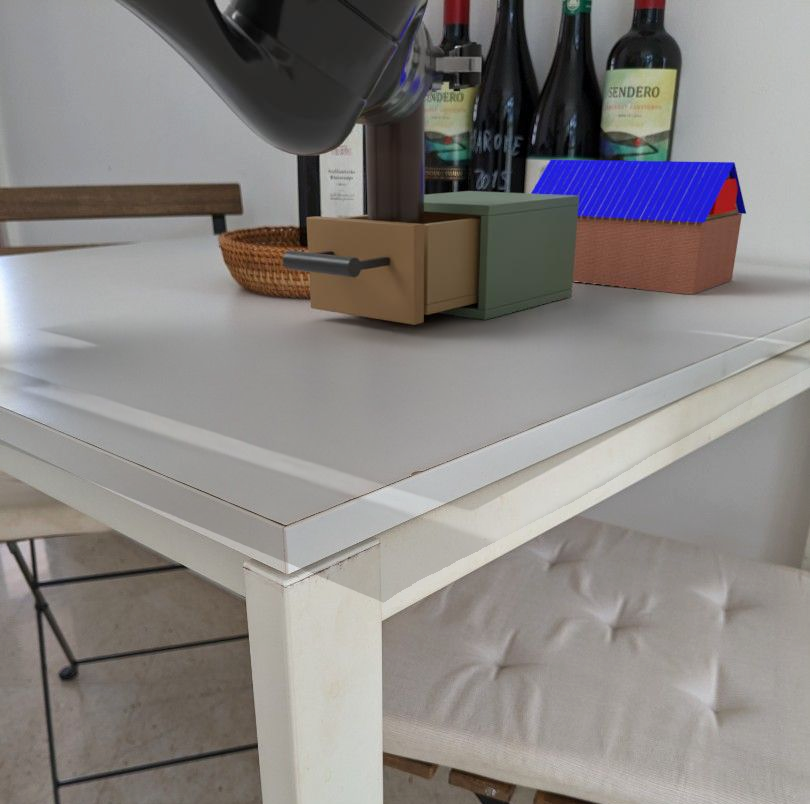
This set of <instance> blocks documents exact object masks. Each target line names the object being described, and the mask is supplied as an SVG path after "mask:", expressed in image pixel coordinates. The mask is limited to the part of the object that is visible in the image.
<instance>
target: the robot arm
mask: <svg viewBox="0 0 810 804" xmlns="http://www.w3.org/2000/svg"><path fill="white" fill-rule="evenodd" d="M114 1H115V2H116V3H118V4H119V5H120V6H122V7H123V8H125V9H126V10H127V11H129V12H130V13H131V14H133V16H135V17H136V18H137V19H138V20H140V21H141V22H143V23H144V24H145V25H146V26H147V27H148V28H150V29H151V30H152V31H153V33H155V34H156V35H157V36H159V38H160V39H162V40H163V41H164V42H165V43H166V44H167V45H168V46H169V47H171V48H172V49H173V51H175V52H176V53H177V54H178V55H179V56H180V57H181V59H183V60H184V61H185V62H186V63H187V64H188V66H190V67H191V68H192V69H193V70H194V71H195V73H197V74H198V76H200V78H202V80H203V81H204V82H205V84H207V85H208V87H209V88H210V89H211V90H212V91H213V93H215V94H216V95H217V96H218V98H220V100H221V101H222V102H223V103H224V104H225V105H226V106H227V107H228V109H229V110H230V111H231V112H232V113H233V114H234V115H235V116H236V117H238V119H239V120H240V121H241V122H242V123H243V124H244V125H245V126H246V127H247V128H248V129H249V130H250V131H251V132H253V133H254V134H255V135H256V136H257V137H258V138H260V139H261V140H262V141H264V142H265V143H266V144H268V145H269V146H271V147H273V148H275V149H277V150H279V151H281V152H284V153H286V154H290V155H294V156H301V157H313V156H314V157H315V156H320V155H324V154H328V153H331V152H332V151H335V150H336V149H337V148H339V147H341V145H342V144H343V143H345V141H346V140H347V139H348V137H349V136H350V135H351V133H352V131H353V130H354V128H355V126H356V125H363V126H365V125H370V126H386V125H390V124H394V123H397V122H399V121H401V120H403V119H405V118H406V117H408V116H409V115H410V114H411V113H413V112H414V111H415V110H416V109H417V108H418V106H419V105H420V104H421V103H422V101H423V100H424V101H425V98H426V97H430V96H432V94H433V93H437V92H438V91H441V90H442V88H443V87H442V86H444V85H445V84H444V83H448V90H453V92H461V90H466V89H472V88H476V87H479V86H481V84H482V58H483V57H482V56H483V55H482V52H483V49H482V48H483V45H482V44H481V43H478V42H477V41H469V43H467V44H466V43H465V44H463V45H455V46H454V49H452V50H450V51H448V56H445V51H444V50H443V49H442V47H440V46H439V45H434V44H433V40H432V37H431V34H430V32H429V30H428V28H427V25H426V24H425V23H424V20H423V18H424V17H425V13H426V9H427V7H428V3H429V0H229V4H228V5H227V6H226V8H225V10H224V11H221V10H220V8H219V6H218V3H217V1H216V0H114Z"/></svg>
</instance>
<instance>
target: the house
mask: <svg viewBox="0 0 810 804" xmlns="http://www.w3.org/2000/svg"><path fill="white" fill-rule="evenodd" d="M739 180H740V179H739V176H738V171H737V167H736V163H735V162H733V161H677V160H676V161H673V160H672V161H671V160H668V161H667V160H605V159H604V160H601V159H550V160H549V161H548V163H547V164H546V166H545V169H544V170H543V172H542V173H541V175H540V177H539V179H538V181H537V182H536V184H535V185H534V187H533V189H532V191H531V192H530V194H553V195H577V196H579V204H578V218H577V232H576V245H575V258H574V271H573V281H578V282H585V283H596V284H604V285H611V286H610V287H614V286H619V287H618V288H624V287H626V288H625V289H633V288H636V290H643V291H655V292H664V293H673V294H683V295H696V294H698V293H700V292H703V291H706V290H708V289H712V288H714V287H716V286H719V285H722V284H725V283H728V282H730V281H732V280H733V274H734V268H735V263H736V262H735V261H736V256H737V250H738V249H737V248H738V243H739V238H740V237H739V235H740V229H741V223H742V217H743V214H745V215H746V214H747V211H746V206H745V202H744V198H743V193H742V189H741V185H740V181H739ZM585 283H584V284H585ZM604 285H603V286H604Z"/></svg>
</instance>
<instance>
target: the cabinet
mask: <svg viewBox="0 0 810 804" xmlns="http://www.w3.org/2000/svg"><path fill="white" fill-rule="evenodd" d="M578 204H579V196H577V195H553V194H531V193H527V192H526V193H525V192H500V191H477V190H464V191H453V192H452V191H451V192H439V193H429V194H424V212H435V213H451V214H467V215H482V216H481V234H480V266H479V298H478V303H474V304H470V305H466V306H462V307H458V308H454V309H450V310H446V311H441V312H437V313H436V314H441V315H448V316H455V317H460V318H469V319H475V320H481V321H486V320H490V319H494V318H498V317H502V316H505V314H506V315H509V314H513V313H516V311H517V312H520V311H524V310H528V309H531V307H532V308H535V307H538V305H539V306H542V304H543V305H546V304H550V303H553V302H552V301H554V302H557V301H556V300H558V301H560V299H561V300H565V299H568V298H567V297H569V298H571V297H572V294H573V284H574V282H573V271H574V258H575V245H576V232H577V218H578ZM570 296H571V297H570ZM564 298H565V299H564ZM527 308H528V309H527ZM523 309H524V310H523ZM512 312H513V313H512Z"/></svg>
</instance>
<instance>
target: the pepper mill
mask: <svg viewBox="0 0 810 804" xmlns="http://www.w3.org/2000/svg"><path fill="white" fill-rule="evenodd" d="M364 126H365V156H366V157H365V164H366V165H365V166H366V167H365V168H366V197H367V198H366V203H367V207H366V208H367V209H366V211H367V215H368V220H374V221H388V222H402V223H416V224H424V195H425V99H424V100H423V101H422V103H421V104H420V105H419V106H418V108H417V109H416V110H415V111H414V112H413V113H411V114H410V115H409V116H408V117H406V118H405V119H403V120H401V121H399V122H397V123H394V124H390V125H386V126H370V125H364Z"/></svg>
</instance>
